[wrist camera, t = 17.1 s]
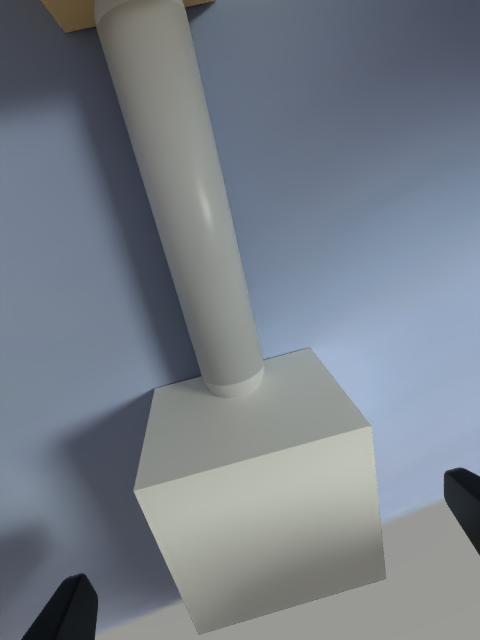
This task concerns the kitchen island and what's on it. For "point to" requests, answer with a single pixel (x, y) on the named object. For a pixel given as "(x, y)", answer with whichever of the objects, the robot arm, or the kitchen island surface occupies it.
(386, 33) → the kitchen island surface
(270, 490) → the dumbbell shaped bar
